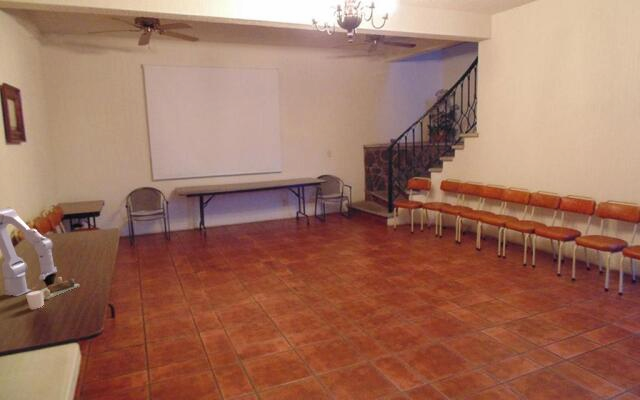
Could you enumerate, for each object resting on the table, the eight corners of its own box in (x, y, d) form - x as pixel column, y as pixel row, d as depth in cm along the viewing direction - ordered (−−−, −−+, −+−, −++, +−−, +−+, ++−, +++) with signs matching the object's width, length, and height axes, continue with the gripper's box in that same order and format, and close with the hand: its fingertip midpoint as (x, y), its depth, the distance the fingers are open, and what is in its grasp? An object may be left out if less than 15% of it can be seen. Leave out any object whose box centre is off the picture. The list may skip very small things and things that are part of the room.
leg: (73, 284, 231) (72, 278, 231) (75, 285, 229) (74, 279, 229) (48, 291, 223) (47, 285, 222) (49, 292, 221) (48, 286, 220)
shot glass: (42, 302, 212) (39, 289, 211) (47, 305, 208) (45, 291, 207) (26, 308, 207) (23, 293, 206) (31, 311, 203) (28, 296, 201)
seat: (28, 297, 221) (26, 289, 220) (60, 284, 238) (59, 276, 237) (48, 299, 216) (46, 291, 215) (80, 286, 232) (79, 278, 232)
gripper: (48, 266, 216) (52, 293, 219) (61, 258, 230) (65, 282, 233) (33, 268, 215) (37, 294, 218) (46, 259, 229) (50, 284, 232)
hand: (50, 288), depth 225 cm, fingers closed
